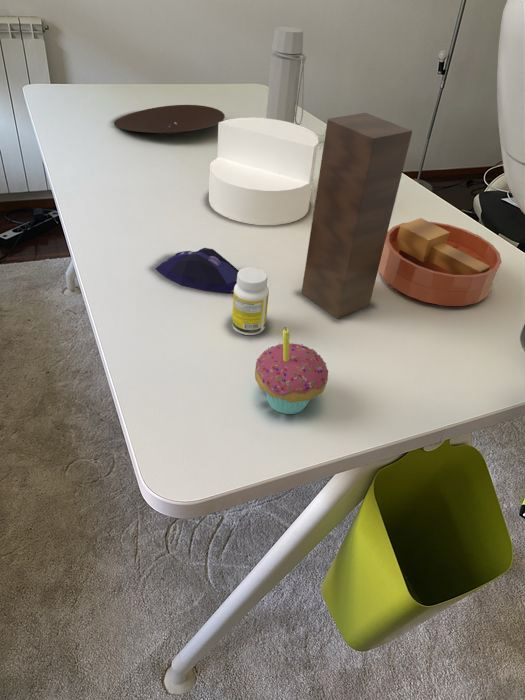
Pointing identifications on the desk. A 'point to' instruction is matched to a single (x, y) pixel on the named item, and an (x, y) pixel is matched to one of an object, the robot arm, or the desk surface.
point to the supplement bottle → (250, 301)
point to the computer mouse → (200, 270)
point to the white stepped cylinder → (262, 171)
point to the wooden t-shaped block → (436, 248)
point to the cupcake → (290, 375)
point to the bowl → (440, 270)
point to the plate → (171, 119)
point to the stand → (353, 210)
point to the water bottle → (285, 74)
